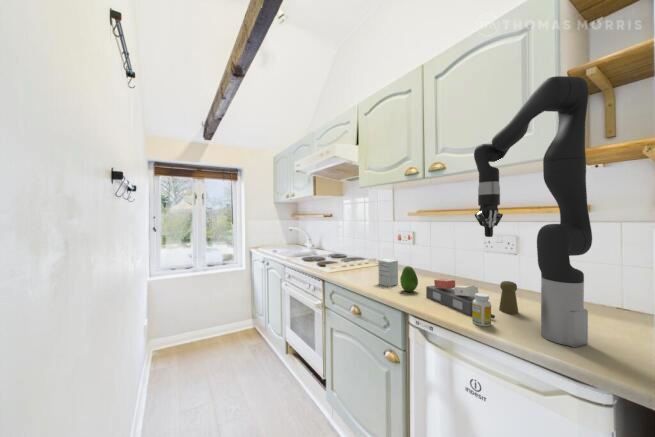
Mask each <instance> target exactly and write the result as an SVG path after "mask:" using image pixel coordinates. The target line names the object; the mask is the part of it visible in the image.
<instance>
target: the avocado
mask: <svg viewBox="0 0 655 437" xmlns="http://www.w3.org/2000/svg"><path fill="white" fill-rule="evenodd" d="M399 279H400V287H401V288H402V290H404V292H413V291H415V290H416V289H417V287H418V284H419V280H418V276H417V274H416V271H415V269H414V268H413V267H411V266H410V265H407V266H405V267H404V268H403V269H402V272H401V276H400V278H399Z"/></svg>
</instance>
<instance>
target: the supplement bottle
mask: <svg viewBox="0 0 655 437" xmlns="http://www.w3.org/2000/svg"><path fill="white" fill-rule="evenodd" d="M489 300H490V295H489V294H487V293H483V292H478V293H475V300H473V303H472V315H471V316H472V317H471V318H472V323H473V324H475V325H477V326H480V327H490V326H491V325H492V318H491V314H492V304H491V301H489Z"/></svg>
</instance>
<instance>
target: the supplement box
mask: <svg viewBox="0 0 655 437" xmlns="http://www.w3.org/2000/svg"><path fill="white" fill-rule="evenodd" d="M377 263H378V285H381V286H384V287H385V286H386V287H393V286H396V285H398V284H399V260H397V259H392V258H391V259H390V258H383V259H379V260H378V262H377Z"/></svg>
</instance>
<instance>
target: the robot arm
mask: <svg viewBox="0 0 655 437" xmlns="http://www.w3.org/2000/svg"><path fill="white" fill-rule="evenodd" d="M588 101H589V85H588V82H587V80H586V79H585V78H583V77H581V76H564V75H561V76H551V77H548V78H546V79H544V80H543V81H542V82H541V83H540V84H539V85H538V86H537V87H536V88H535V89H534V90H533V92H532V93H531V94H530V95H529V97H528V98H527V100H525V102H524V103H523V104H522V106H521V107H520V108H519V110H518V111H517V112H516V113H515V115H514V116H513V117H512V119H511V120H510V121H509V122H508V123H507V124H506V125H505V126H503V127H502V128H501V129H500V130H499V131H498V132H497V133H496V134H495V135H494V136H493V137H492V138H491V143H482V144H478V145H477V146H476V148H474V151H473V157H474V162H475V166H476V169H477V171H478V172H477V173H478V187H477V188H478V189H477V197H478V198H477V203H478V207H479V210H478V211H479V212H478V213H474V217H475V219H476V221H477V222H478V224H479V225H480V226H481V227H483V228H484V236H485V237H486V238H492V237H493V236H494V228H495V227H497V226H498V225H499V223H500V222H501V219H502V217H503V216H504V214H503V213H500V212H499V208H498V206H500V205H501V186H500V169H499V168H498V167H496V166H493V165H491V164H490V163H496V162H495V161H497V160H499V159H501V158H502V159H504V157H505V156H506V155H507V153H508V151H509V150H510V149H511V147H513V146H514V145H515V144H517V143H518V142H519V141H521V139H523V138H524V137H525V136H526V134H527V132H528V129H529V126H530V123H531V121H532V120H533V119H535V117H537V116H539V115H540V114H542V113H544V112H556V113H557V115H558V124H557V125H558V127H557V131H556V134H555V136H554V138H553V139H552V141H551V143H550V144H549V146H548V147H547V149H546V151H545V153H544V154H543V158H542V159H543V162H542V163H543V164H542V168H543V181H544V184H545V185H546V188H547V189H548V191H549V192H550V194H551V195H552V197H553V198H554V200H555V201H556V204H557V206H558V210H559V214H560V215H559V222H560V223H549V224H545V225H543V226H541V228H540V229H539V230H538V232H537V237H536V251H537V252H536V256H537V266H538V268H539V271H540V274H541V275H540V276H541V279H540V284H541V285H540V286H541V287H540V335H541V336H542V337H543V338H544V339H546V340H548V341H550V342H552V343H556V344H561V345H564V346H569V347H572V348H577V347H580V346H581V347H582V346H585V345H588V343H589V342H588V341H589V338H588V335H589V332H588V331H589V313H588V312H589V310H588V309H586V308H584V307H585V306H584V303H585V298H584V297H585V293H584V292H585V273H584V272H583V271H582V270H580V269H578V268H575V267H573V266H572V265H571V260H570V257H574V256H582V255H585V254H587V253H588V251H589V250H590V249H591V248H592V244H593V232H592V226H591V219H590V214H589V208H588V194H587V157H586V156H587V155H586V120H587V113H588V112H587V111H588V110H587V108H588V104H589V102H588ZM502 159H501V160H502ZM499 161H500V160H499ZM497 162H498V161H497Z"/></svg>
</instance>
